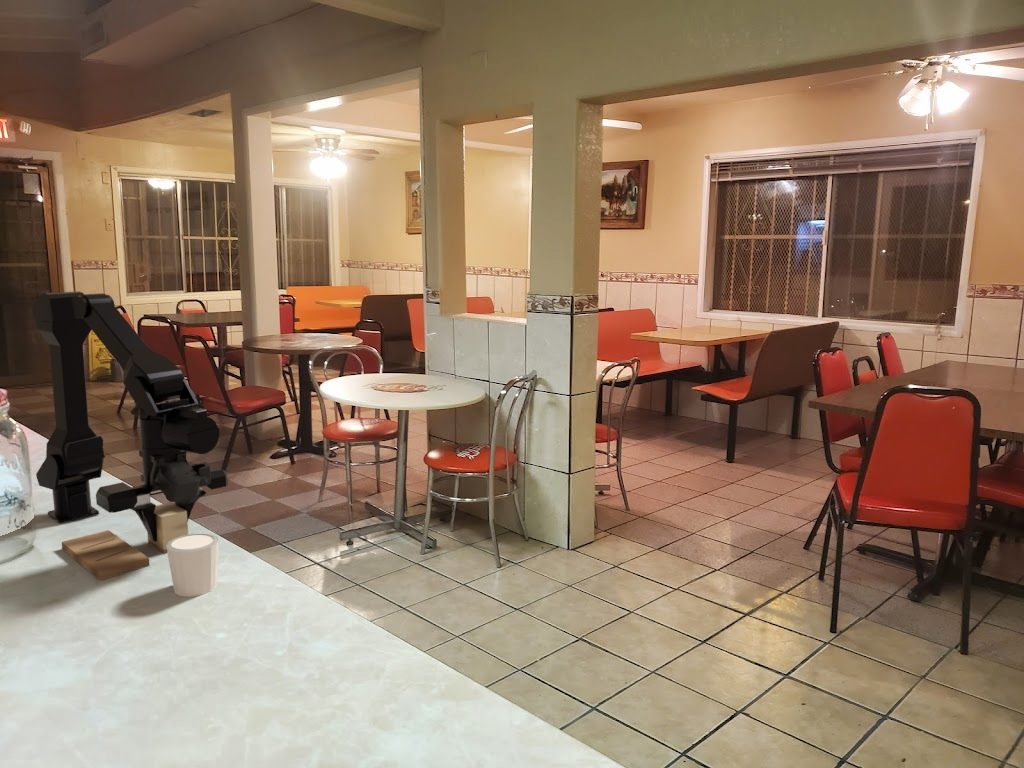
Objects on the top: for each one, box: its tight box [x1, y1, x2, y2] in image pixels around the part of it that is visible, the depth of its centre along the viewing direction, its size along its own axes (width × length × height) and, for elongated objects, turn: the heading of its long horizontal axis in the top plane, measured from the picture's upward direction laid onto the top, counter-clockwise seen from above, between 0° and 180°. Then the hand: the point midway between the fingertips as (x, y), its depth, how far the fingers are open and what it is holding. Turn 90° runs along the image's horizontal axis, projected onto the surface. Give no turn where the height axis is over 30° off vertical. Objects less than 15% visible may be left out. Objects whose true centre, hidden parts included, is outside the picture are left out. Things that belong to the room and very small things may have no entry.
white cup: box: [166, 532, 220, 597], centre depth 106 cm, size 7×7×7 cm
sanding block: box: [146, 501, 189, 554], centre depth 121 cm, size 6×4×6 cm, turn 48°
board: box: [61, 529, 150, 581], centre depth 117 cm, size 16×7×1 cm, turn 48°
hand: (168, 537), depth 122 cm, fingers closed on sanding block, 4 cm apart
